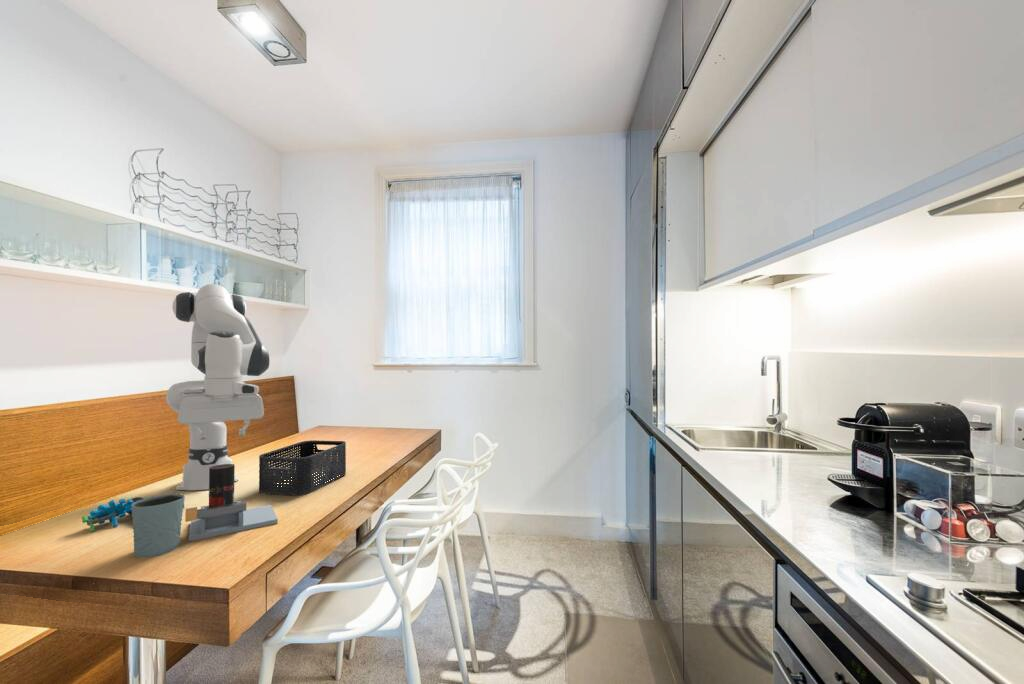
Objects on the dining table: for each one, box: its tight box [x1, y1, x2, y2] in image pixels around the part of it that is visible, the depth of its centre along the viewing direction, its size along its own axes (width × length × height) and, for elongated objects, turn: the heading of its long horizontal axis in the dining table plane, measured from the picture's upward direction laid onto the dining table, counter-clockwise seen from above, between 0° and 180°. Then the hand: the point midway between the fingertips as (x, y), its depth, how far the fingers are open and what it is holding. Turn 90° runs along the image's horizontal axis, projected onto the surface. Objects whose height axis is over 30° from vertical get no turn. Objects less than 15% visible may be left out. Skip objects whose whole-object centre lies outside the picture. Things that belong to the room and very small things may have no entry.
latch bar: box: [184, 501, 247, 523], centre depth 116 cm, size 3×13×3 cm, turn 125°
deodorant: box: [208, 463, 236, 507], centre depth 121 cm, size 6×6×15 cm
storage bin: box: [258, 439, 347, 496], centre depth 162 cm, size 29×19×13 cm
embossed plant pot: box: [131, 493, 186, 559], centre depth 106 cm, size 10×10×12 cm
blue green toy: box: [81, 498, 133, 533], centre depth 121 cm, size 11×6×10 cm
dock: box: [188, 499, 278, 542], centre depth 122 cm, size 15×20×5 cm
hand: (222, 437), depth 122 cm, fingers open, 8 cm apart
